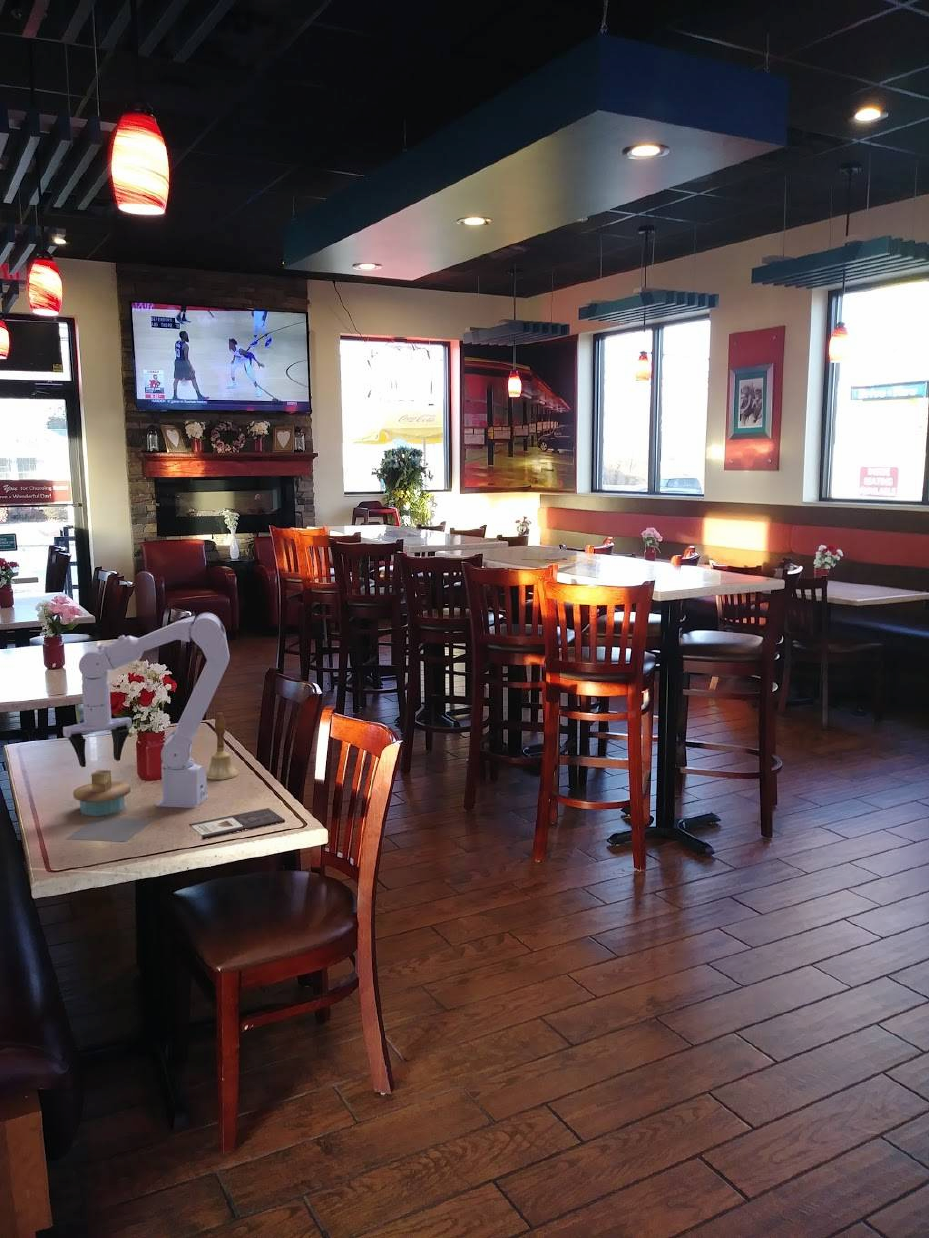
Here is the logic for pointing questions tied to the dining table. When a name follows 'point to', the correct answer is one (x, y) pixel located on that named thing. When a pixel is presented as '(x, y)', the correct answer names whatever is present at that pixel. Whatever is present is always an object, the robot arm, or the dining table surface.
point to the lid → (101, 788)
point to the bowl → (102, 807)
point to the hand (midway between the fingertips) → (100, 762)
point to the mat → (110, 829)
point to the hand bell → (220, 755)
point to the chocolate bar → (236, 823)
